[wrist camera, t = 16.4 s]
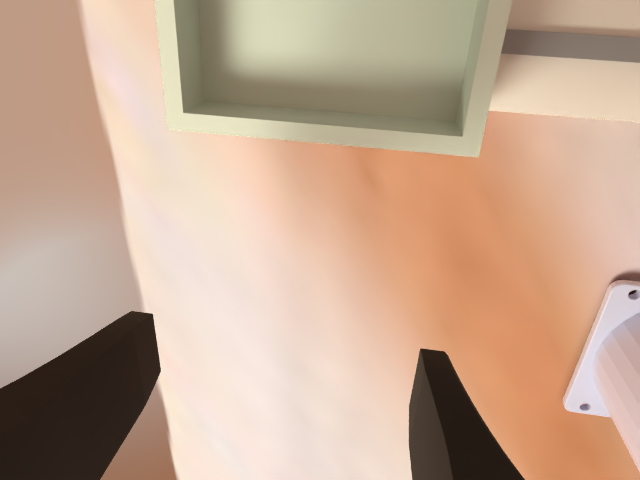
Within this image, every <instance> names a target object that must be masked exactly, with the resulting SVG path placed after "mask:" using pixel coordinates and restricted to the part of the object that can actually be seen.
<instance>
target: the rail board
mask: <svg viewBox="0 0 640 480" xmlns="http://www.w3.org/2000/svg"><path fill="white" fill-rule="evenodd" d="M489 111H502V112H515V113H527V114H540V115H552V116H565V117H577V118H590V119H602V120H615V121H628V122H640V0H512V5H511V9H510V14H509V18H508V23H507V28H506V32H505V37H504V42H503V46H502V51H501V55H500V60H499V65H498V69H497V74H496V79H495V83H494V88H493V92H492V97H491V102H490V106H489Z"/></svg>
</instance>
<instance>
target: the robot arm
mask: <svg viewBox="0 0 640 480" xmlns="http://www.w3.org/2000/svg"><path fill="white" fill-rule="evenodd" d="M632 290H637V291H636V292H635V293H634V294H632V295H628V294H629V292H631V291H632ZM160 372H161V368H160V361H159V354H158V347H157V340H156V333H155V326H154V319H153V314H150V313H142V312H134V311H131V312H129V313H127V314H126V315H124V316H122V317H121V318H119V319H117V320H116V321H114V322H113V323H111V324H109V325H108V326H106V327H105V328H103V329H101V330H100V331H98V332H97V333H95V334H94V335H92V336H91V337H89V338H88V339H86V340H84V341H82V342H81V343H79V344H78V345H76V346H74V347H73V348H71V349H70V350H68V351H66V352H65V353H63V354H62V355H60V356H58V357H56V358H55V359H53V360H51V361H50V362H48V363H46V364H44V365H42V366H41V367H39V368H37V369H35V370H34V371H32V372H30V373H29V374H27V375H25V376H23V377H22V378H20V379H18V380H16V381H14V382H12V383H10V384H8V385H6V386H4V387H2V388H1V389H0V480H100V479H101V477H102V475H103V474H104V472H105V471H106V469H107V467H108V466H109V464H110V462H111V461H112V459H113V458H114V456H115V454H116V453H117V451H118V449H119V448H120V446H121V445H122V443H123V441H124V440H125V438H126V437H127V435H128V433H129V432H130V430H131V428H132V427H133V425H134V423H135V422H136V420H137V419H138V417H139V415H140V414H141V412H142V410H143V409H144V407H145V405H146V403H147V401H148V399H149V396H150V395H151V392H152V390H153V388H154V386H155V383H156V381H157V379H158V376H159V374H160ZM584 403H587V404H585V405H582V404H584ZM563 404H564V406H565V408H566V409H567V410H568V411H571V412H577V413H584V414H591V415H598V416H606V417H611V418H612V420H613V422H614V424H615V426H616V427H617V429H618V431H619V433H620V435H621V437H622V439H623V441H624V443H625V445H626V447H627V449H628V451H629V453H630V454H631V456H632V458H633V460H634V462H635V464H636V466H637V468H638V470H639V472H640V282H638V281H629V280H618V281H615V282H613V283H612V284H610V286H609V287H608V289H607V291H606V294H605V296H604V299H603V301H602V304H601V306H600V309H599V311H598V314H597V316H596V319H595V321H594V324H593V326H592V329H591V331H590V334H589V336H588V338H587V341H586V343H585V346H584V348H583V351H582V353H581V356H580V358H579V361H578V363H577V366H576V368H575V371H574V373H573V376H572V378H571V381H570V383H569V386H568V388H567V390H566V393H565V395H564V398H563ZM409 450H410V460H411V470H412V479H413V480H525V479H524V478H523V477H522V475H521V474H520V473H519V471H518V470H517V469H516V467H515V466H514V465H513V463H512V462H511V461H510V459H509V458H508V457H507V455H506V454H505V452H504V451H503V449H502V448H501V447H500V445H499V444H498V442H497V441H496V439H495V438H494V436H493V435H492V433H491V432H490V430H489V429H488V427H487V426H486V424H485V422H484V421H483V419H482V417H481V416H480V414H479V413H478V411H477V409H476V408H475V406H474V404H473V403H472V401H471V399H470V397H469V396H468V394H467V392H466V390H465V388H464V387H463V385H462V383H461V381H460V379H459V377H458V375H457V373H456V371H455V369H454V367H453V365H452V363H451V361H450V359H449V357H448V355H447V354H446V353H445V352H444V351H436V350H428V349H421V348H420V353H419V358H418V363H417V369H416V374H415V379H414V384H413V389H412V394H411V399H410V405H409Z"/></svg>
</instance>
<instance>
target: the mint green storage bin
mask: <svg viewBox="0 0 640 480" xmlns="http://www.w3.org/2000/svg"><path fill="white" fill-rule="evenodd" d="M154 3H155V12H156V22H157V32H158V42H159V52H160V62H161V71H162V81H163V91H164V101H165V111H166V121H167V130H178V131H189V132H200V133H211V134H222V135H234V136H245V137H256V138H267V139H278V140H290V141H301V142H312V143H323V144H334V145H346V146H357V147H368V148H379V149H391V150H402V151H413V152H424V153H435V154H447V155H458V156H469V157H479V153H480V148H481V143H482V139H483V134H484V129H485V125H486V120H487V116H488V111H489V106H490V102H491V97H492V92H493V88H494V83H495V79H496V74H497V69H498V65H499V60H500V55H501V51H502V46H503V42H504V37H505V32H506V28H507V23H508V18H509V14H510V9H511V5H512V0H154Z"/></svg>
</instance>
